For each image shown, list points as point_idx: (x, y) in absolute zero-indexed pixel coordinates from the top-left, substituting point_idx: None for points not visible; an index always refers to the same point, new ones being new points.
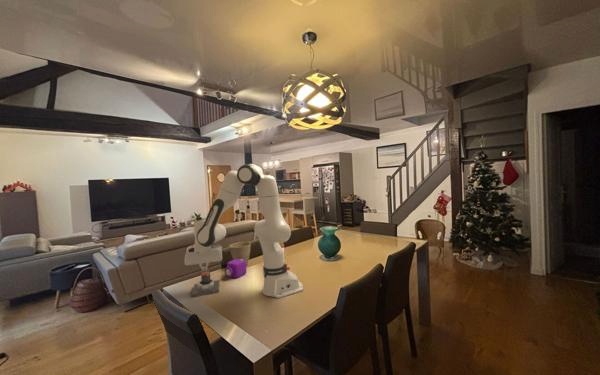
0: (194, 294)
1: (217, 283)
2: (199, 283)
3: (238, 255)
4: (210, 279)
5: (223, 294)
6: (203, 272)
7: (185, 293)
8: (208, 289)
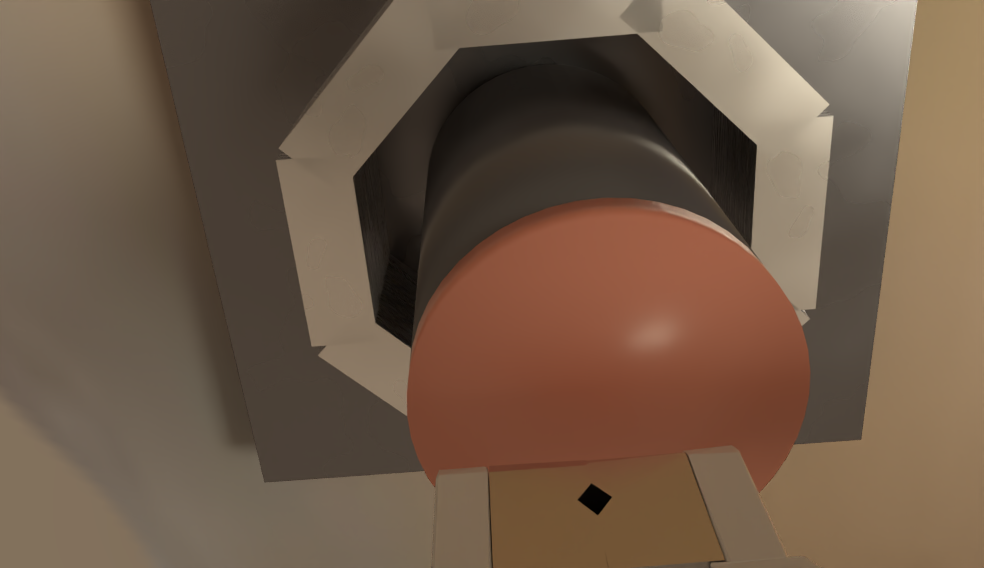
0: (326, 471)
1: (866, 46)
2: (370, 303)
3: None
4: (703, 88)
5: (916, 513)
6: (493, 296)
7: (41, 212)
8: None
